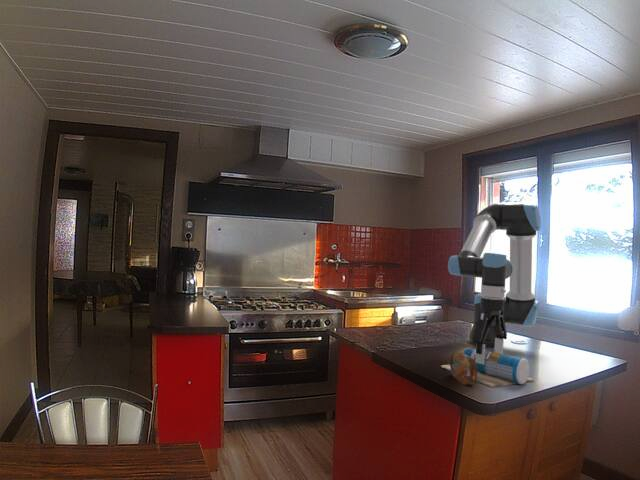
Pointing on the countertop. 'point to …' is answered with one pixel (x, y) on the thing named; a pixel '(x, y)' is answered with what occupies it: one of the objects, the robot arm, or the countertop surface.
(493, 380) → the beige flat square
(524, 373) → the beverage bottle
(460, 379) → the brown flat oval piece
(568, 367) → the countertop surface
